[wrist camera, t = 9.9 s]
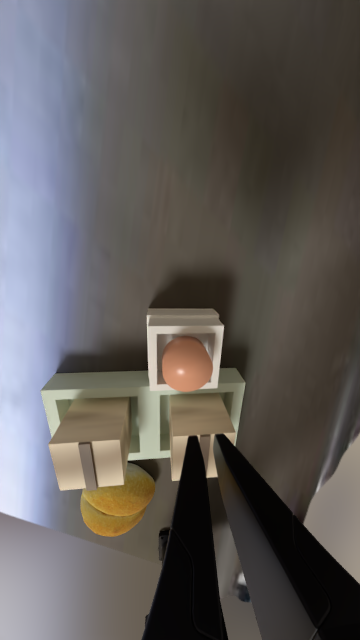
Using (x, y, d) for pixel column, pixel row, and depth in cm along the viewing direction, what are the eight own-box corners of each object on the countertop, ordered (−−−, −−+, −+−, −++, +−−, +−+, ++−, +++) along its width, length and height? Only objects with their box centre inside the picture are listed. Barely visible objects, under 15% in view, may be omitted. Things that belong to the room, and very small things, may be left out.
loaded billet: (212, 424, 22) (229, 478, 17) (169, 426, 22) (172, 483, 17) (216, 387, 21) (236, 434, 15) (169, 389, 20) (173, 438, 15)
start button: (205, 374, 17) (210, 390, 15) (162, 376, 16) (162, 392, 14) (208, 335, 15) (215, 347, 13) (162, 336, 15) (162, 348, 13)
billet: (132, 428, 21) (123, 487, 16) (84, 431, 21) (58, 493, 16) (130, 390, 20) (119, 442, 14) (77, 392, 19) (46, 446, 14)
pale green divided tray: (226, 432, 24) (234, 452, 21) (69, 442, 22) (58, 465, 20) (235, 367, 21) (245, 382, 18) (55, 373, 19) (40, 390, 17)
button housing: (208, 364, 20) (219, 390, 17) (149, 366, 20) (147, 393, 16) (213, 308, 18) (226, 323, 15) (148, 308, 18) (145, 323, 14)
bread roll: (162, 464, 25) (163, 502, 21) (138, 509, 27) (135, 550, 23) (96, 452, 23) (84, 491, 19) (77, 501, 25) (63, 544, 22)
